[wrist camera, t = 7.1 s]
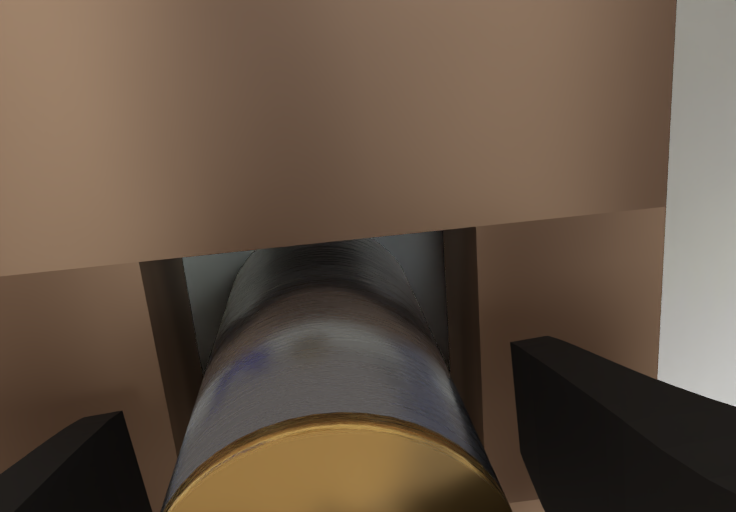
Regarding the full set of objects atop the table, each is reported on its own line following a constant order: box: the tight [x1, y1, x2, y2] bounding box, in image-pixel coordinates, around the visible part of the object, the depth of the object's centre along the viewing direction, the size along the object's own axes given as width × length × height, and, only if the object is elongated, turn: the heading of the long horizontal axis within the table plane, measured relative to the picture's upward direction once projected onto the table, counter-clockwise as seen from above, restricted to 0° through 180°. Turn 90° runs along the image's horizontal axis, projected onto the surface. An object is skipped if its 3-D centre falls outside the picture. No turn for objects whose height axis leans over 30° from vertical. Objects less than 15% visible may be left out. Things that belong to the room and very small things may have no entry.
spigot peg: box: [160, 238, 513, 512], centre depth 10 cm, size 4×4×8 cm
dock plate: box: [0, 0, 677, 512], centre depth 13 cm, size 12×14×3 cm
